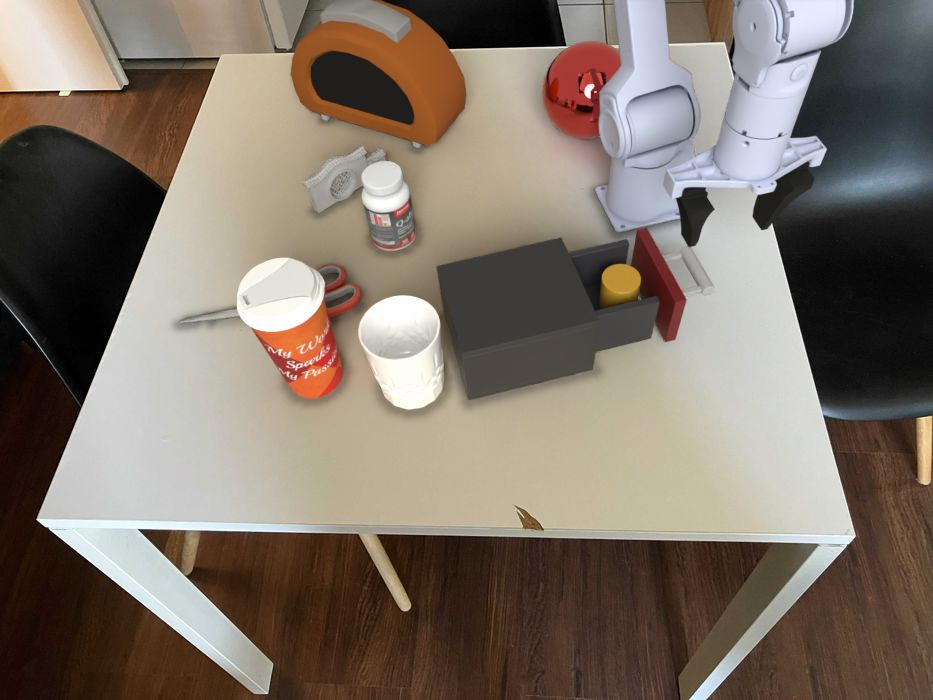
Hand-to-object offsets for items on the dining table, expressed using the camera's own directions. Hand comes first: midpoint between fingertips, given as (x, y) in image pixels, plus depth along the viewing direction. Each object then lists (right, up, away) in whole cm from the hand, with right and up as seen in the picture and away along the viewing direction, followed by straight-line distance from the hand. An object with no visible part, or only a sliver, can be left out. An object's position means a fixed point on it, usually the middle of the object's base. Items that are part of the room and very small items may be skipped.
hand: (724, 231), depth 72 cm
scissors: (-48, -8, +12) cm, 50 cm away
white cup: (-32, -16, +5) cm, 35 cm away
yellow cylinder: (-10, -7, +6) cm, 13 cm away
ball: (-10, +18, +27) cm, 34 cm away
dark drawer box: (-20, -11, +7) cm, 24 cm away
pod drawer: (-9, -8, +7) cm, 14 cm away
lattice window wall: (-41, +9, +23) cm, 48 cm away
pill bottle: (-35, +2, +18) cm, 39 cm away
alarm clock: (-38, +21, +31) cm, 53 cm away
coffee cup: (-42, -15, +6) cm, 45 cm away
